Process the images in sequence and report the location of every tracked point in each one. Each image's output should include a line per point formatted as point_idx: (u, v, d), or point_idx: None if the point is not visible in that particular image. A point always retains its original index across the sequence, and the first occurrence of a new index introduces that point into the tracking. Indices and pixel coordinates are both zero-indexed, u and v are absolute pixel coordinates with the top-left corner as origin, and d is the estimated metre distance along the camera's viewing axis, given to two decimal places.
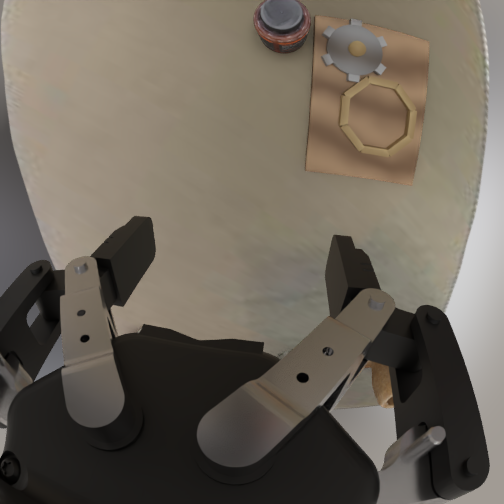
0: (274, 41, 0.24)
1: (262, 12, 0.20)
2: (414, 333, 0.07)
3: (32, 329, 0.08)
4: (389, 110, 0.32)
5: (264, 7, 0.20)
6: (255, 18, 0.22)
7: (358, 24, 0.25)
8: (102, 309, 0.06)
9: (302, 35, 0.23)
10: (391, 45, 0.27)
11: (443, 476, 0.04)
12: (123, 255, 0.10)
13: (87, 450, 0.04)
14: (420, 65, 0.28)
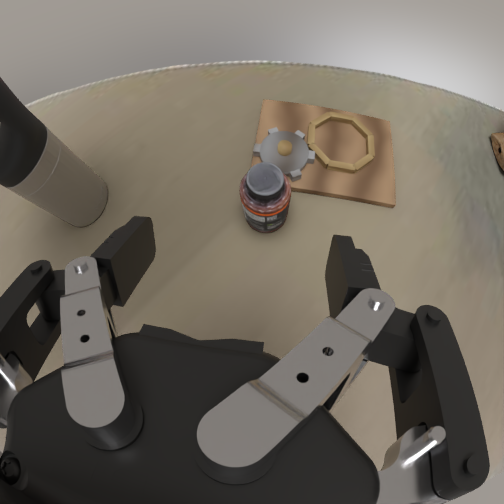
0: (289, 197, 0.32)
1: (264, 193, 0.30)
2: (414, 333, 0.07)
3: (32, 329, 0.08)
4: (333, 133, 0.42)
5: (258, 191, 0.30)
6: (263, 209, 0.32)
7: (259, 146, 0.40)
8: (102, 309, 0.06)
9: (283, 174, 0.33)
10: (273, 126, 0.43)
11: (443, 476, 0.04)
12: (123, 255, 0.10)
13: (87, 450, 0.04)
14: (287, 107, 0.43)
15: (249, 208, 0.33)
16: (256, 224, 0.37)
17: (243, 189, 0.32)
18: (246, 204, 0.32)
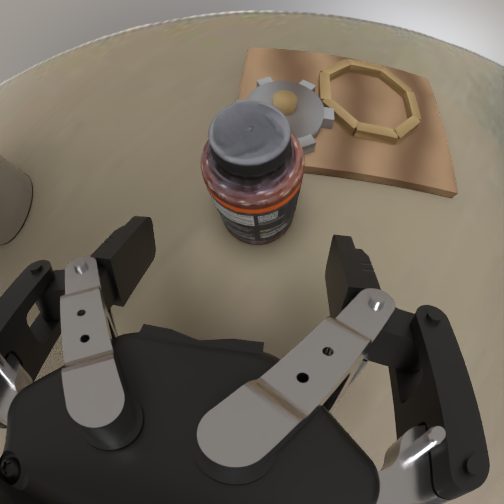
0: None
1: (247, 160, 0.13)
2: (414, 333, 0.07)
3: (32, 329, 0.08)
4: (356, 88, 0.25)
5: (235, 156, 0.13)
6: (250, 199, 0.15)
7: None
8: (102, 309, 0.06)
9: None
10: None
11: (443, 476, 0.04)
12: (123, 255, 0.10)
13: (87, 450, 0.04)
14: (284, 55, 0.27)
15: (220, 199, 0.15)
16: (240, 230, 0.20)
17: (207, 160, 0.15)
18: (213, 191, 0.15)
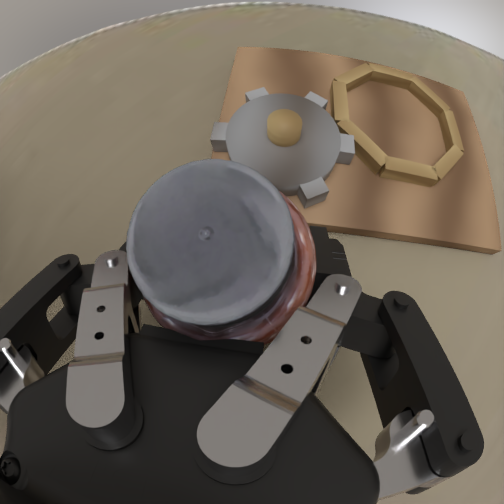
0: None
1: (199, 316, 0.06)
2: (381, 318, 0.08)
3: (54, 321, 0.09)
4: (380, 103, 0.19)
5: (174, 304, 0.06)
6: None
7: (224, 127, 0.17)
8: (122, 308, 0.07)
9: None
10: None
11: (439, 456, 0.04)
12: None
13: (87, 450, 0.04)
14: (285, 57, 0.20)
15: None
16: None
17: None
18: (157, 320, 0.09)
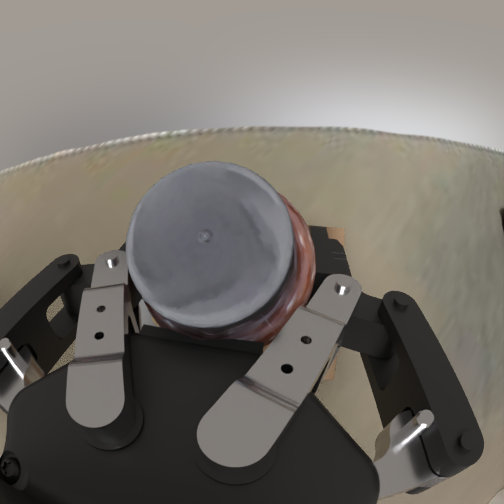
0: (309, 293, 0.09)
1: (198, 318, 0.06)
2: (381, 318, 0.08)
3: (54, 321, 0.09)
4: None
5: (173, 306, 0.06)
6: None
7: None
8: (122, 308, 0.07)
9: None
10: None
11: (439, 456, 0.04)
12: None
13: (87, 450, 0.04)
14: None
15: None
16: None
17: None
18: (157, 322, 0.09)
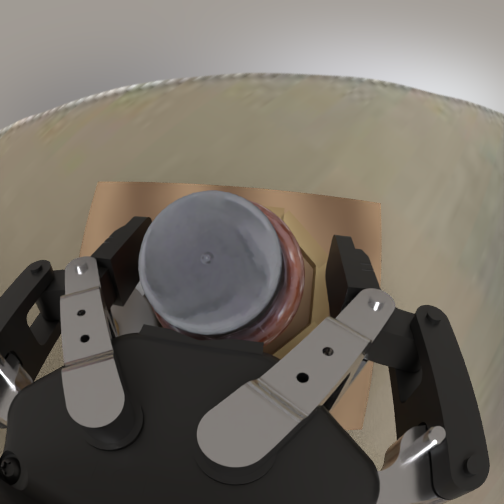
0: None
1: (202, 327, 0.07)
2: (414, 333, 0.07)
3: (32, 329, 0.08)
4: None
5: (180, 317, 0.07)
6: None
7: None
8: (102, 309, 0.06)
9: (281, 221, 0.11)
10: None
11: (443, 476, 0.04)
12: (123, 255, 0.10)
13: (87, 450, 0.04)
14: (136, 197, 0.20)
15: None
16: None
17: None
18: (164, 327, 0.10)
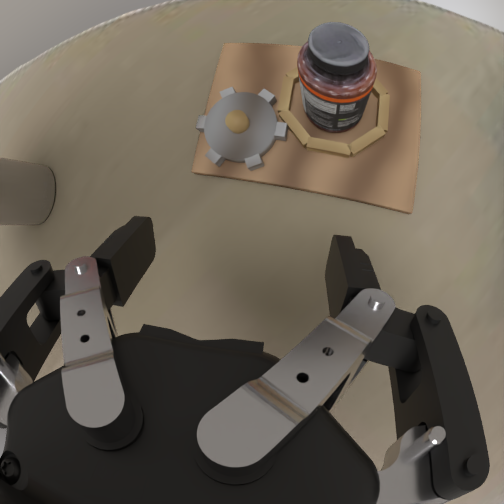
0: (374, 78, 0.16)
1: (339, 62, 0.14)
2: (414, 333, 0.07)
3: (32, 329, 0.08)
4: None
5: (330, 58, 0.14)
6: (337, 90, 0.17)
7: (204, 119, 0.26)
8: (102, 309, 0.06)
9: None
10: (233, 83, 0.27)
11: (443, 476, 0.04)
12: (123, 255, 0.10)
13: (87, 450, 0.04)
14: (257, 52, 0.26)
15: (313, 89, 0.18)
16: (321, 118, 0.22)
17: (303, 61, 0.17)
18: (308, 82, 0.17)
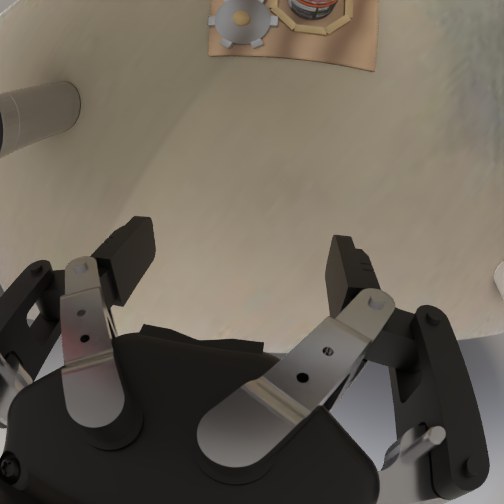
0: None
1: None
2: (414, 333, 0.07)
3: (32, 329, 0.08)
4: None
5: None
6: (316, 1, 0.20)
7: (213, 18, 0.28)
8: (102, 309, 0.06)
9: None
10: None
11: (443, 476, 0.04)
12: (123, 255, 0.10)
13: (87, 450, 0.04)
14: None
15: None
16: (304, 13, 0.25)
17: None
18: None
